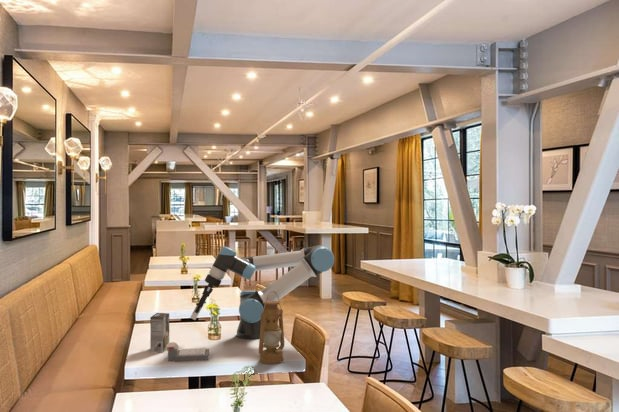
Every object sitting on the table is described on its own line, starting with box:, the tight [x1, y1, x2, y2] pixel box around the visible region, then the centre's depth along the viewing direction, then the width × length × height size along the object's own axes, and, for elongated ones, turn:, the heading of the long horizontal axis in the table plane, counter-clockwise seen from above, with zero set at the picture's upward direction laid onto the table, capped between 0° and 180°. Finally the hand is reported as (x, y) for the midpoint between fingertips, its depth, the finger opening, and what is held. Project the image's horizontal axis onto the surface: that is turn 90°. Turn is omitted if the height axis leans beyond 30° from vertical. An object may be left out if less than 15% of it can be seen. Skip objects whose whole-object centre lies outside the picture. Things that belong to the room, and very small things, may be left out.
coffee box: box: [149, 312, 170, 353], centre depth 235 cm, size 9×6×16 cm
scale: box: [165, 341, 210, 363], centre depth 222 cm, size 18×10×8 cm, turn 98°
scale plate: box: [179, 347, 207, 356], centre depth 222 cm, size 11×9×1 cm
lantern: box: [258, 291, 285, 365], centre depth 218 cm, size 15×10×30 cm
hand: (193, 316), depth 242 cm, fingers open, 13 cm apart
